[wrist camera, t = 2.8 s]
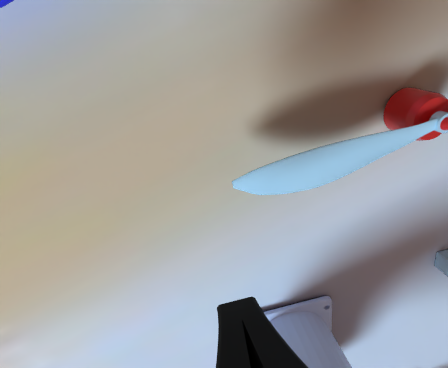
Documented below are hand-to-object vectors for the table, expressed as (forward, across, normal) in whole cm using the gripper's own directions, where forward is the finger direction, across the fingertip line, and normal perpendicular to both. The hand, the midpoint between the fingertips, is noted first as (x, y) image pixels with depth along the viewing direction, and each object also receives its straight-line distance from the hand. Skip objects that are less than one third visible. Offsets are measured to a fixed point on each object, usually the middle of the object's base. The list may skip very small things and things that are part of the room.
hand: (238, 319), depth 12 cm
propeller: (+11, -14, -3) cm, 18 cm away
